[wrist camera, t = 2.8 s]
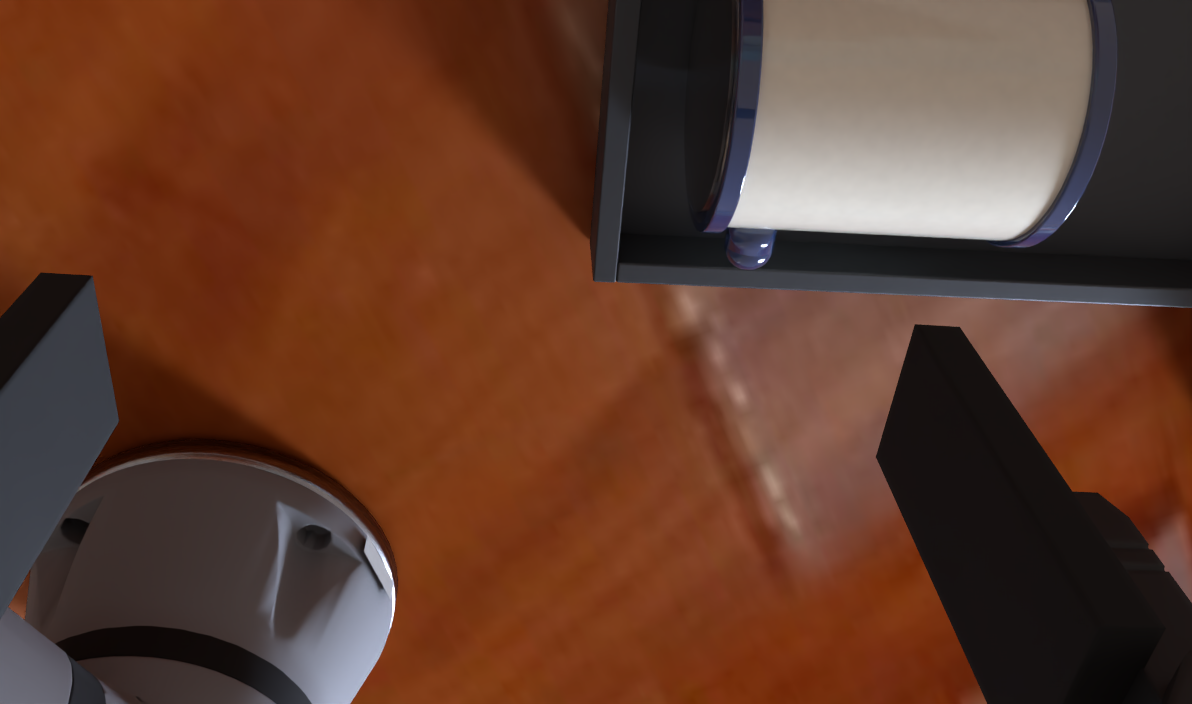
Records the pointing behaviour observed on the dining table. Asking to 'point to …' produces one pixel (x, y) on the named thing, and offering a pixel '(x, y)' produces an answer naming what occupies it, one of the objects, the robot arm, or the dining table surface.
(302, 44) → the dining table surface
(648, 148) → the tray
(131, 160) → the dining table surface
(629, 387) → the dining table surface
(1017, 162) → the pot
